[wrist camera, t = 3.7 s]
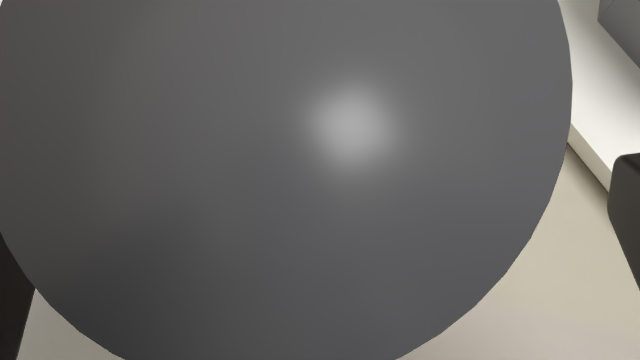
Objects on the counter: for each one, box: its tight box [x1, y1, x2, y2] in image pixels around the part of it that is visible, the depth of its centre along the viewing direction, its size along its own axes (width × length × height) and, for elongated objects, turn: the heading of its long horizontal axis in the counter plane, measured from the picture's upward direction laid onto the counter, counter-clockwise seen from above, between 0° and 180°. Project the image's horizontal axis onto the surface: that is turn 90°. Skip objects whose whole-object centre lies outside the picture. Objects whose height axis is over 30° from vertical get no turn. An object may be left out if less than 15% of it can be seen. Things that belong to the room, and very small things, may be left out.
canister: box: [0, 0, 573, 360], centre depth 11 cm, size 5×5×12 cm
